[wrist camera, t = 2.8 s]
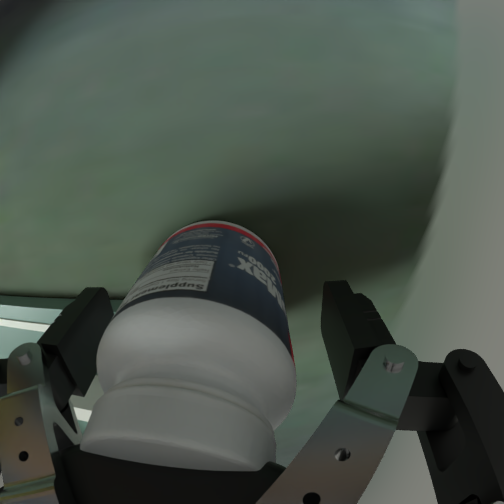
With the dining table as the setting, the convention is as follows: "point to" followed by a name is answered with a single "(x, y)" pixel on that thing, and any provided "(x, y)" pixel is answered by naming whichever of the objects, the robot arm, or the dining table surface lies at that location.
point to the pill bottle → (197, 357)
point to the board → (32, 328)
